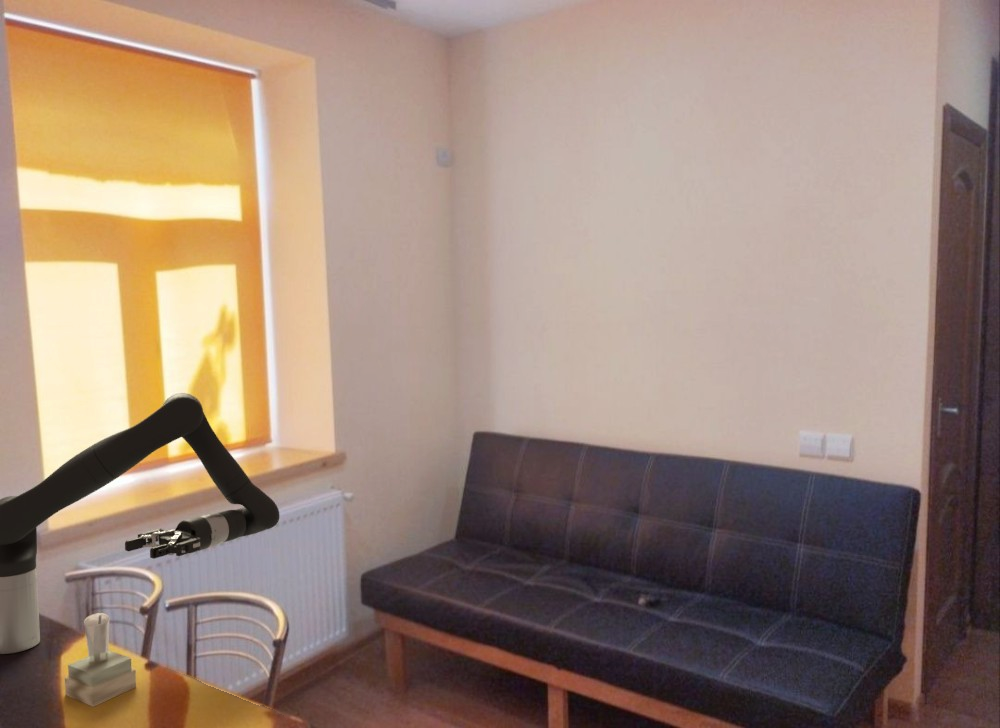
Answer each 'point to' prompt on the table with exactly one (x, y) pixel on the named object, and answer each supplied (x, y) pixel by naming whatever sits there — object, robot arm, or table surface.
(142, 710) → the table surface
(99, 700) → the tower base
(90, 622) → the milkshake
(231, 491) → the robot arm
